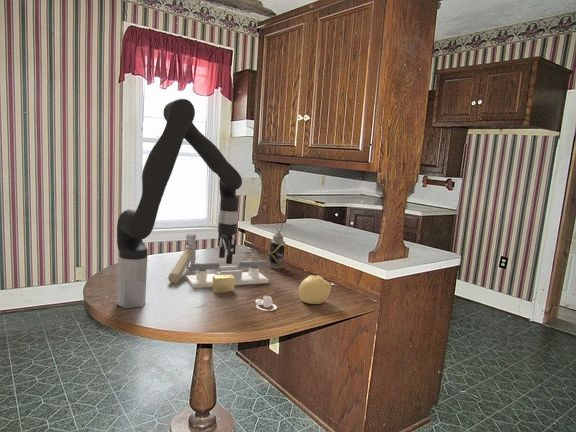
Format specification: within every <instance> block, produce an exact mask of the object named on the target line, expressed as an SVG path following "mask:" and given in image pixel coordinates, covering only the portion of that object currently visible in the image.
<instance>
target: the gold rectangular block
mask: <svg viewBox="0 0 576 432" xmlns="http://www.w3.org/2000/svg"><path fill="white" fill-rule="evenodd" d="M234 284H235V277H234V276H233V275H232V274H231V275H214V276H213V283H212V287H211V288H212V289H211V290H212V292H213V293H215V294H216V293H218V294H219V293H231V292H230V291H232V292H235V285H234Z"/></svg>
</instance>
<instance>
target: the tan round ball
mask: <svg viewBox="0 0 576 432" xmlns="http://www.w3.org/2000/svg"><path fill="white" fill-rule="evenodd" d="M331 291H332V284H331V282H329V281H327V280H326V279H324V277H323V276H321V275H313V274H310V275H307V277H305V278H304V279H303V280H302V281H301V282H300V285H299V287H298V294H299V297H300V299H301V301H303V303H305V304H306V303H307V304H311V305H320V304H321V305H322V304H323V303H324V302H325V301H326V300H327V298H328V296H329V295H330V294H331Z"/></svg>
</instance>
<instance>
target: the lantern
mask: <svg viewBox="0 0 576 432" xmlns="http://www.w3.org/2000/svg"><path fill="white" fill-rule="evenodd" d="M279 220H280V223H281V225H283V222H282V219H281V218H278V219H277V222H276V224H278V223H279ZM276 230H277V233H275V234H273V235H272V240H270V244H269V250H268V258H267V259H268V267H269V268H270V269H274V270H281V269H282V268H283V265H284V261H285V249H286V248H285V247H286V241H284V235H282V234H281V232H282V230H283V226H281V227H280V231H279V230H278V228H276Z"/></svg>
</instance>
